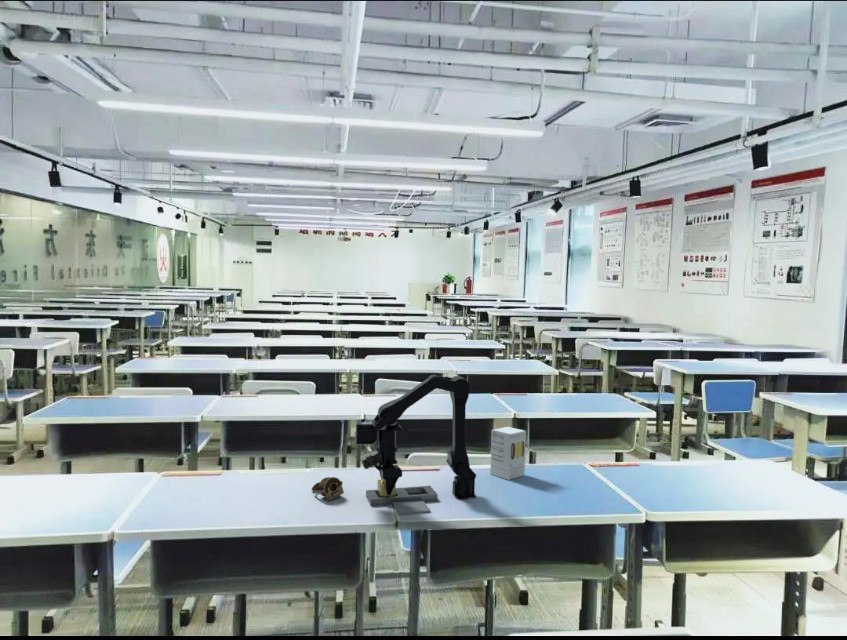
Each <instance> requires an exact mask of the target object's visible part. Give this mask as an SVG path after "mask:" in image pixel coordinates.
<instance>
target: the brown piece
mask: <svg viewBox="0 0 847 640" xmlns="http://www.w3.org/2000/svg"><path fill="white" fill-rule="evenodd" d="M311 491H312V492H313V493H314V494H320V495H321V496H323V497H324V498H326V499H327V502H329V501H332V500H333V499H335V498H338V497H339V496H341V495H344V489H343V481H342V480H340V479H339V478H338V477H336V476H335V477H334V476H329V477H327V476H326V477H324V478H323V479H321V480H320V481H319V482H317V483H315V484H314V485H313V486H312V487H311Z"/></svg>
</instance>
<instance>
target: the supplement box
mask: <svg viewBox="0 0 847 640" xmlns="http://www.w3.org/2000/svg"><path fill="white" fill-rule="evenodd" d="M526 435H527V432H526V430H524V429H520V428H515V427H511V426H505V427H500V428H494V429H491V436H490V437H491V438H490V440H491V441H490V443H491V444H490V466H489V467H490V469H489V471H490V472H489V473H490V474H489V475H492V476H496V477H499V478H502V479H504V480H505V479H506V480H508V481H510V480H513V479H516V478H519V477H522V476H525V473H526V472H525V470H526V467H525V466H526V441H527V440H526V439H527V437H526Z"/></svg>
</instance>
